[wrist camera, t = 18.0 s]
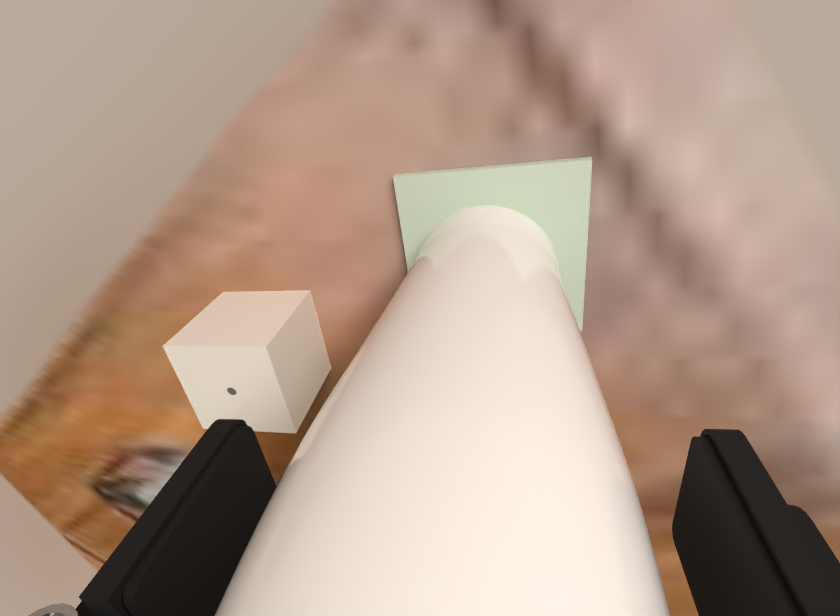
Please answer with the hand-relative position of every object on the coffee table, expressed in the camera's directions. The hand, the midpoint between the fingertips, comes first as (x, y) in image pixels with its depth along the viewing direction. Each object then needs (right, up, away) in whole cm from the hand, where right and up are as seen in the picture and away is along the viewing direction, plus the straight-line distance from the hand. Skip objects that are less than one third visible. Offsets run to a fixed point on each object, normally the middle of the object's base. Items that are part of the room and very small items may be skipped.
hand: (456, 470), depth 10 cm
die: (-8, +2, +12) cm, 15 cm away
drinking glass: (+2, +5, +8) cm, 10 cm away
